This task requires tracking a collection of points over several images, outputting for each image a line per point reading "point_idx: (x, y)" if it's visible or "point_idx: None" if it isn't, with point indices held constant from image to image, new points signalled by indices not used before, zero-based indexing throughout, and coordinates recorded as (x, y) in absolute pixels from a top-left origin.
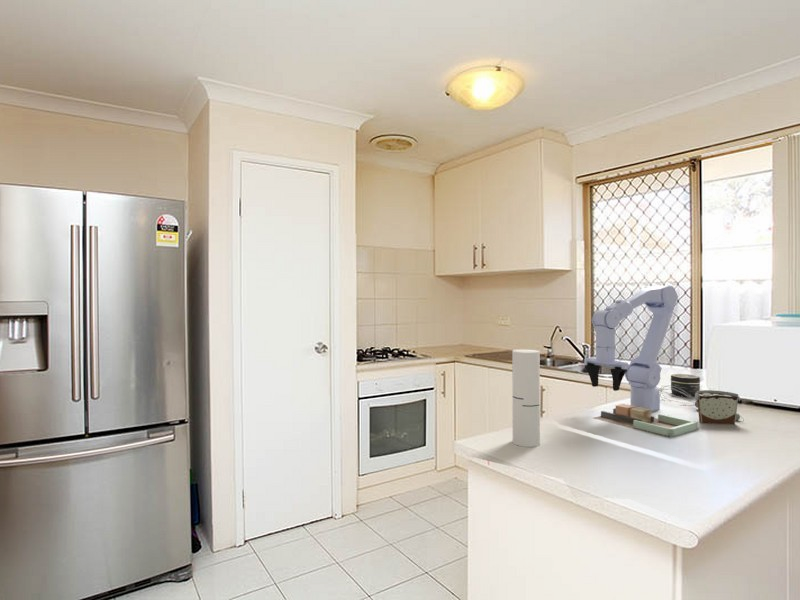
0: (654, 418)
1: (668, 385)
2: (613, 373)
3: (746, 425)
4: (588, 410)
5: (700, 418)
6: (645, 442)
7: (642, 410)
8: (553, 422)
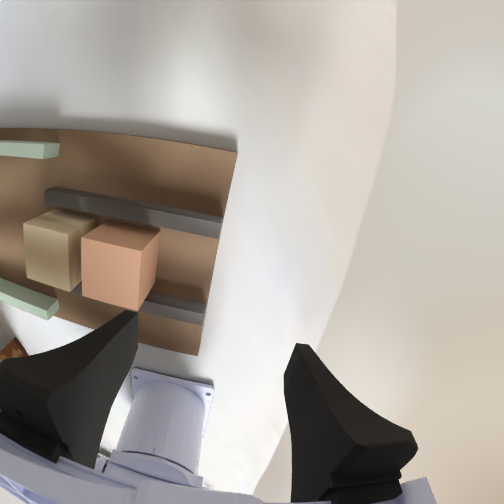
0: (78, 321)
1: None
2: (52, 372)
3: None
4: (324, 316)
5: (7, 350)
6: (19, 58)
7: (31, 238)
8: (352, 25)
